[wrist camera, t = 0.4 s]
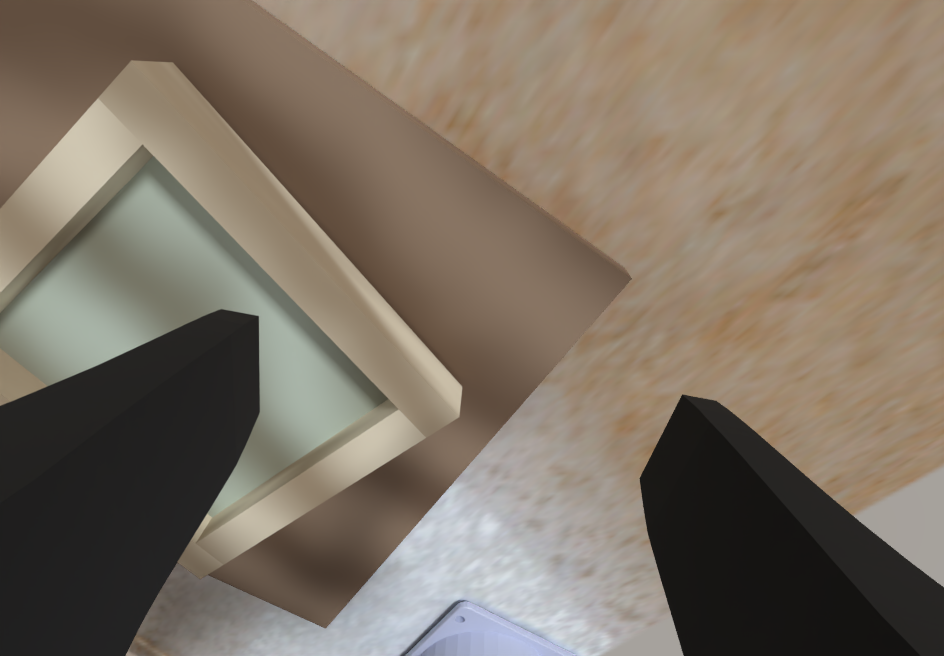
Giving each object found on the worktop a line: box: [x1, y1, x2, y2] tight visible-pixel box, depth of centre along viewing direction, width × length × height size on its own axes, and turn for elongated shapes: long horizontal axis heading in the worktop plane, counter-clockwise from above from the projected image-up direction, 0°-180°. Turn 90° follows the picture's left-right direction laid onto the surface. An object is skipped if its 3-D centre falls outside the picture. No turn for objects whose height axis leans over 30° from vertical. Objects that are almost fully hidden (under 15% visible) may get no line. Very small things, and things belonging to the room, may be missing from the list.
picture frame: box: [0, 60, 462, 579], centre depth 19 cm, size 15×14×2 cm
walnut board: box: [0, 0, 632, 628], centre depth 21 cm, size 23×24×1 cm
